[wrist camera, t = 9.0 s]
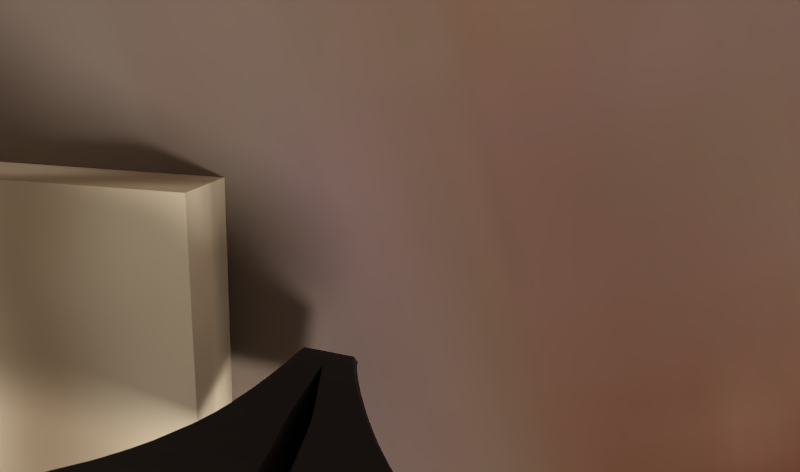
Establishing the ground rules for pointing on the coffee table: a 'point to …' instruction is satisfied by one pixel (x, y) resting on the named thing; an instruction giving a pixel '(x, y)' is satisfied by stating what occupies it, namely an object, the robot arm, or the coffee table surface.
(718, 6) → the coffee table surface
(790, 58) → the coffee table surface
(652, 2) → the coffee table surface
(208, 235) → the beige rectangular box
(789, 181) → the coffee table surface
